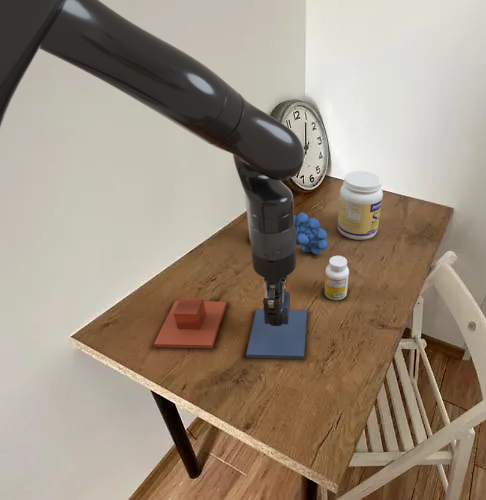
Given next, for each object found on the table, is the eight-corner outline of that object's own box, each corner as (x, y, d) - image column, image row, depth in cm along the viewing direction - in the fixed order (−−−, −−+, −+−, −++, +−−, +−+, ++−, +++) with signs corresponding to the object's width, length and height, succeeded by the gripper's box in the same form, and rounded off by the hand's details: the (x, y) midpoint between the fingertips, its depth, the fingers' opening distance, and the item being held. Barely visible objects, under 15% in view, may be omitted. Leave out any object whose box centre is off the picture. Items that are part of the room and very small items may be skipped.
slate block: (288, 324, 68) (287, 308, 66) (264, 324, 68) (263, 307, 66) (290, 307, 72) (289, 291, 69) (267, 307, 72) (266, 290, 69)
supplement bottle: (331, 282, 87) (334, 250, 82) (351, 290, 85) (354, 258, 80) (320, 294, 84) (321, 262, 78) (339, 304, 81) (342, 271, 76)
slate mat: (303, 359, 69) (303, 355, 68) (246, 357, 68) (246, 354, 68) (306, 313, 78) (306, 310, 78) (256, 312, 78) (256, 309, 77)
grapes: (280, 255, 95) (278, 216, 88) (291, 242, 100) (290, 204, 93) (320, 266, 92) (322, 227, 85) (329, 252, 97) (332, 214, 90)
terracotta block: (200, 329, 72) (196, 314, 69) (177, 329, 71) (172, 313, 69) (206, 313, 75) (203, 298, 73) (184, 312, 75) (180, 297, 72)
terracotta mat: (212, 348, 69) (211, 345, 69) (154, 347, 69) (153, 343, 68) (226, 304, 79) (226, 301, 78) (176, 303, 79) (175, 300, 78)
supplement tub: (373, 245, 101) (381, 191, 92) (332, 236, 104) (335, 184, 94) (380, 223, 111) (388, 173, 101) (342, 216, 113) (346, 166, 103)
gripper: (258, 221, 66) (263, 289, 76) (243, 270, 54) (252, 343, 64) (298, 223, 66) (299, 290, 76) (292, 272, 54) (293, 344, 64)
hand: (277, 314), depth 70 cm, fingers closed on slate block, 4 cm apart
